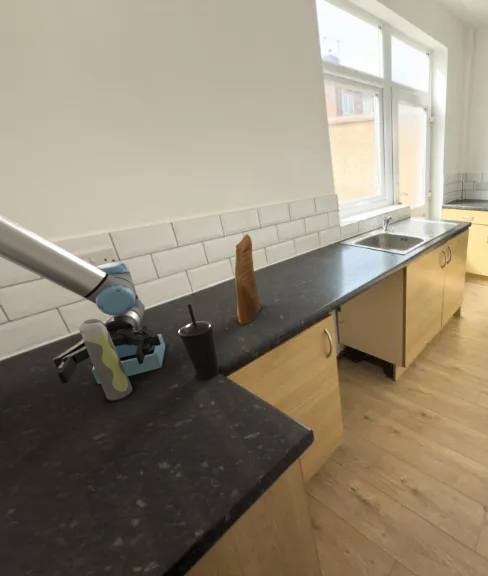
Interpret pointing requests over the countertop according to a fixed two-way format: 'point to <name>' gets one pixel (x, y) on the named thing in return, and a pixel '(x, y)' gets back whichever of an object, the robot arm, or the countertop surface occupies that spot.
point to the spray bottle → (105, 359)
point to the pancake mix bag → (246, 282)
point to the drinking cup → (200, 346)
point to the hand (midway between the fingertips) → (102, 368)
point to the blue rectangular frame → (132, 364)
